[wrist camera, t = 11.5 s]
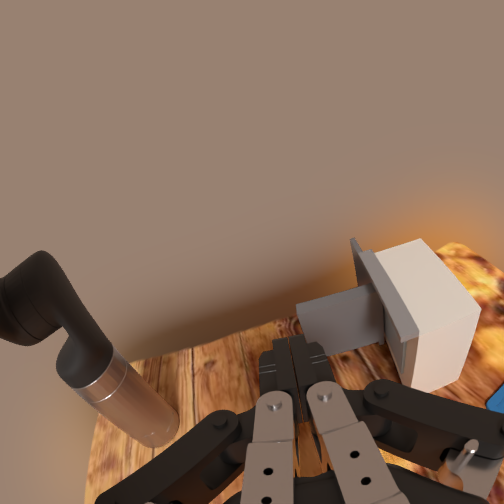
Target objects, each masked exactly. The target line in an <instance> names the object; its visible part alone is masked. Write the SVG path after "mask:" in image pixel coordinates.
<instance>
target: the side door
mask: <svg viewBox="0 0 504 504" xmlns="http://www.w3.org/2000/svg"><path fill="white" fill-rule="evenodd" d="M350 243H351V248H352V253H353V259H354V264H355V270H356V276H357V282H358V287H356V288H353V289H349V290H346V291H343V292H339V293H336V294H332V295H329V296H325V297H322V298H318V299H315V300H311V301H308V302H304V303H300V304H296V310H297V316H298V319H299V322H300V325H301V327H302V330H303V333H304V336H305V339H306V342H307V343H311V342H317V343H319V344H320V345H321V346H323V349H324V351H325V355H326V357H327V356H331V355H335V354H339V353H342V352H346V351H350V350H353V349H356V348H360V347H363V346H366V345H370V344H373V343H376V342H378V343H379V345H382V344H384V320H383V304H382V302H381V300H380V298H379V296H378V294H377V292H376V290H375V288H374V286H373V284H372V282H371V280H370V278H369V276H368V274H367V272H366V270H365V268H364V267H363V265H362V263H361V261H360V259H359V256H358V253H360V252H363V251H362V250H361V248H360V247H359V245H358V243H357V242H356V240H355V238H352V239H350Z"/></svg>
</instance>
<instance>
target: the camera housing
mask: <svg viewBox="0 0 504 504" xmlns="http://www.w3.org/2000/svg"><path fill="white" fill-rule="evenodd" d="M358 256H359V259H360V261H361V263H362V265H363V267H364V268H365V270H366V272H367V274H368V276H369V278H370V280H371V282H372V284H373V286H374V288H375V290H376V292H377V294H378V296H379V298H380V300H381V302H382V304H383V320H384V337H385V339H386V342H387V344H388V347H389V349H390V352H391V355H392V357H393V360H394V363H395V365H396V368H397V371H398V373H399V376H400V379H401V382H402V385H405V386H408V387H411V388H414V389H417V390H420V391H423V392H426V393H429V392H432V391H434V390H436V389H439V388H441V387H443V386H445V385H448V384H450V383H452V382H454V381H456V380H458V378H459V375H460V373H461V370H462V368H463V365H464V362H465V360H466V357H467V354H468V351H469V348H470V345H471V342H472V339H473V336H474V333H475V329H476V326H477V322H478V319H479V315H480V311H481V308H480V306H479V305H478V304H477V303H476V301H475V300H474V299H473V297H472V296H471V295H470V294H469V292H468V291H467V290H466V289H465V287H464V286H463V285H462V284H461V283H460V281H459V280H458V279H457V278H456V277H455V275H454V274H453V273H452V272H451V271H450V270H449V269H448V267H447V266H446V265H445V264H444V263H443V262H442V261H441V260H440V259H439V257H438V256H437V255H436V254H435V253H434V252H433V251H432V250H431V249H430V248H429V247H428V246H427V245H426V244H425V243H424V242H423V240H422V239H417V240H414V241H411V242H408V243H405V244H402V245H399V246H395V247H393V248H389V249H386V250H383V251H380V252H376V253H374V252H373V251H372V250H371V249H370V250H367V251H364V252H360V253H358Z"/></svg>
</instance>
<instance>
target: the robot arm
mask: <svg viewBox="0 0 504 504" xmlns="http://www.w3.org/2000/svg"><path fill="white" fill-rule="evenodd" d="M62 326H63V327H64V328H65V330H66V331H67V333H68V334H69V337H68V339H67V340H66V342H65V344H64V345H63V347H62V349H61V350H60V353H59V355H58V358H57V361H56V369H57V372H58V374H59V376H60V377H61V378H62V379H63V380H64V381H65V382H66V383H67V384H68V385H69V386H70V387H71V388H72V389H73V390H74V391H75V392H76V393H77V394H78V395H79V396H80V397H82V398H83V399H84V400H85V401H86V402H87V403H88V404H90V405H91V406H92V407H93V408H94V409H96V410H97V411H98V412H99V413H100V414H102V415H103V416H104V417H105V418H107V419H108V420H109V421H110V422H112V423H113V424H114V425H116V426H117V427H118V428H120V429H121V430H122V431H124V432H125V433H126V434H128V435H129V436H131V437H132V438H133V439H135V440H136V441H138V442H139V443H141V444H142V445H144V446H146V447H150V448H156V447H160V446H163V445H165V444H166V443H168V442H169V441H170V440H171V439H172V438H173V437H174V436H175V434H176V432H177V430H178V427H179V416H178V414H177V412H176V410H175V409H174V408H173V407H171V406H170V405H169V404H168V403H167V402H166V401H165V400H164V399H163V398H162V397H161V396H160V395H159V394H158V393H157V392H156V391H155V390H154V389H153V388H152V387H151V386H150V385H149V384H148V383H147V382H146V381H145V380H144V379H143V378H142V377H141V376H140V375H139V374H138V373H137V372H136V370H135V369H134V368H133V367H132V366H131V365H130V364H129V363H128V362H127V361H126V359H125V358H124V357H123V356H122V355H121V354H120V353H119V352H118V351H117V349H116V348H115V347H114V346H113V345H112V343H111V342H110V341H109V340H108V338H106V336H105V335H104V333H103V332H102V330H101V329H100V328H99V326H98V325H97V323H96V322H95V320H94V319H93V318H92V316H91V315H90V313H89V312H88V311H87V309H86V308H85V306H84V305H83V303H82V302H81V300H80V298H79V297H78V295H77V294H76V292H75V290H74V289H73V287H72V285H71V283H70V281H69V280H68V278H67V276H66V275H65V273H64V271H63V270H62V268H61V267H60V266H59V264H58V262H57V261H56V260H55V259H54V258H53V256H51V255H50V254H49V253H47V252H46V251H38V252H36V253H34V254H33V255H31V256H30V257H28V258H27V259H26V260H25V261H23V262H22V263H21V264H20V265H18V266H17V267H16V268H14V269H13V270H12V271H11V272H10V273H8V274H7V275H6V276H5V277H3V278H0V338H2V339H4V340H7V341H9V342H12V343H15V344H18V345H22V346H31V345H35V344H37V343H39V342H41V341H42V340H44V339H45V338H47V337H48V336H49V335H51V334H52V333H54V332H55V331H56V330H58V329H59V328H61V327H62ZM288 338H289V344H290V349H289V344H288V339H287V337H285V338H279V339H274V340H272V343H273V350H271V351H265V352H263V353H262V354H261V356H260V358H259V381H260V398H259V399H258V400H257V403H256V405H255V406H254V407H253V408H252V409H250V410H248V411H246V412H243V413H241V414H238V415H236V414H235V413H234V412H232V411H229V410H218V411H215V412H212V413H211V414H209V415H208V416H206V417H205V418H204V419H203V420H202V421H201V422H199V423H198V424H197V425H196V426H195V427H193V428H192V429H191V430H190V431H189V432H187V433H186V434H185V435H184V436H182V437H181V438H180V439H179V440H177V441H176V442H175V443H173V444H172V445H171V446H170V447H168V448H167V449H166V450H164V451H163V452H162V453H160V454H159V455H158V456H156V457H155V458H154V459H152V460H151V461H150V462H148V463H147V464H145V465H144V466H143V467H141V468H140V469H138V470H137V471H136V472H134V473H133V474H131V475H130V476H128V477H127V478H125V479H124V480H122V481H121V482H119V483H118V484H116V485H115V486H113V487H111V488H110V489H108V490H107V491H105V492H103V493H102V494H100V495H99V496H98V497H97V499H96V501H95V504H209V503H210V502H211V501H212V500H213V499H214V498H215V497H217V496H218V495H219V494H220V493H221V492H222V491H223V490H224V489H225V488H226V487H227V486H228V485H229V484H231V483H232V482H233V481H234V480H235V479H236V478H237V477H238V476H239V475H240V474H241V473H242V472H243V471H244V478H243V486H242V491H240V492H238V493H236V494H235V495H233V496H232V497H230V498H229V499H228V500H227V501H225V502H224V503H223V504H489V502H488V501H487V500H486V499H487V496H488V494H489V492H490V490H491V488H492V486H493V484H494V481H495V479H496V476H497V474H498V472H499V469H500V466H501V464H502V461H503V458H504V413H500V412H495V411H491V410H487V409H483V408H479V407H475V406H471V405H468V404H464V403H460V402H457V401H453V400H450V399H446V398H443V397H439V396H436V395H433V394H430V393H426V392H423V391H420V390H417V389H414V388H411V387H408V386H405V385H402V384H399V383H396V382H393V381H391V380H386V379H380V380H375V381H373V382H371V383H369V384H368V385H367V386H366V387H365V389H364V390H347V389H344V388H342V387H340V385H338V384H337V383H336V381H335V378H334V375H333V373H332V370H331V367H330V365H329V362H328V360H327V357H326V355H325V351H324V349H323V346H321V345H320V344H319V343H317V342H311V343H306V341H305V338H304V334H300V335H295V336H290V337H288ZM290 350H291V354H290ZM291 356H292V359H291ZM292 362H293V364H292ZM293 367H294V369H293ZM294 373H295V374H294ZM295 378H296V379H295ZM296 383H297V384H296ZM297 388H298V390H297ZM298 393H299V396H298ZM299 398H300V403H299ZM300 404H301V409H302V414H303V419H304V422H308V421H309V424H310V429H311V436H312V440H313V443H314V446H315V449H316V453H317V456H318V459H319V462H320V466H321V469H322V474H320V475H318V476H315V477H301V473H300V451H299V426H298V423H302V416H301V409H300ZM378 448H380V449H382V450H384V451H386V452H389V453H391V454H393V455H396V456H398V457H400V458H403V459H405V460H408V461H410V462H413V463H415V464H418V465H421V466H423V467H426V468H429V469H432V470H434V471H437V472H438V473H437V476H438V479H439V481H440V482H441V483H442V484H441V483H439V482H436V481H434V480H431V479H429V478H426V477H424V476H421V475H419V474H417V473H414V472H412V471H410V470H408V469H405V468H403V467H401V466H398V465H395V464H390V463H385V461H384V459H383V457H382V455H381V453H380V451H379V449H378Z"/></svg>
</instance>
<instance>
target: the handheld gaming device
mask: <svg viewBox="0 0 504 504" xmlns="http://www.w3.org/2000/svg"><path fill="white" fill-rule="evenodd" d="M486 408H487V410H491V411H495V412H500V413H504V384H503V385H502V387H501V388H500V389H499V390H498V391H497V392H496V393H495V394H494V395H493V396H492V397H491V398H490V399H489V400H488V402H487V403H486Z"/></svg>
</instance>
